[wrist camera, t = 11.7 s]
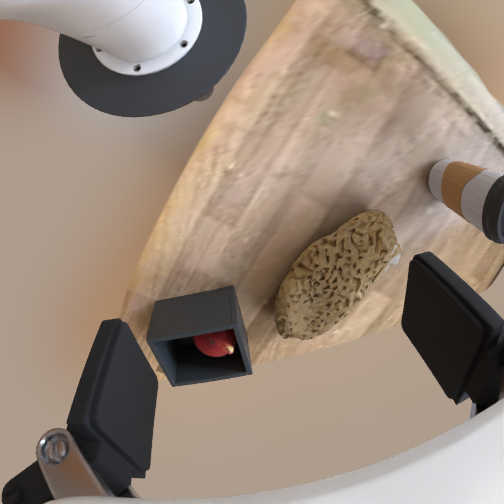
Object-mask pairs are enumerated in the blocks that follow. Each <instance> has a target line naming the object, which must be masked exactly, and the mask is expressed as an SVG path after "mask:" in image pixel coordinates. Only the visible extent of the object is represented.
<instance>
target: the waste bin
mask: <svg viewBox="0 0 504 504" xmlns="http://www.w3.org/2000/svg"><path fill="white" fill-rule="evenodd" d="M228 329H233V330H234V333H235V336H236V340H237V341H236V345H235V346H234V348H233V350H234V352H233V353H232V354H229V353H228V354H226V355H225V356H220V357H213V356H209V355H206V354H204V353H203V352H202V351H201V350H199V349H198V347H197V346H196V344H195V341H194V339H193V336H196V335H202V334H207V333H213V332H218V331H223V330H228ZM146 341H147V343H148V344H149V346H150V348H151V350H152V352H153V354H154V356H155V357H156V359H157V361H158V363H159V365H160V366H161V368H162V370H163V372H164V373H165V375H166V377H167V379H168V380H169V382H170V384H171V385H172V387H175V386H182V385H190V384H197V383H203V382H210V381H216V380H223V379H229V378H234V377H240V376H245V375H247V374H248V375H250V374H252V366H251V359H250V352H249V346H248V339H247V333H246V330H245V326H244V322H243V319H242V315H241V311H240V307H239V304H238V300H237V296H236V292H235V289H234V286H229V287H224V288H219V289H215V290H210V291H205V292H200V293H195V294H190V295H185V296H180V297H175V298H170V299H165V300H160V301H155V305H154V309H153V313H152V317H151V321H150V325H149V329H148V333H147V337H146Z"/></svg>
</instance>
